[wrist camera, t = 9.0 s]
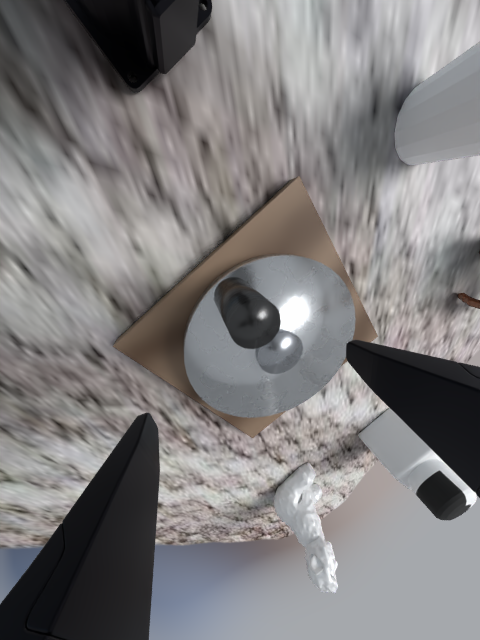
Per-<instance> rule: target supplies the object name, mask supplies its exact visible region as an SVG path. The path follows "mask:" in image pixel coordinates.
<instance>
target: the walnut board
mask: <svg viewBox="0 0 480 640" xmlns="http://www.w3.org/2000/svg"><path fill="white" fill-rule="evenodd" d="M269 254H291V255H296V256H301V257H305V258H309V259H312V260H315V261H318V262H320V263H322V264H324V265H326V266H327V267H329V268H331V269H332V270H333V271H334V272H335V273H336V274H338V275H339V276H340V278H341V279H342V280H343V281H344V283H345V284H346V286H347V288H348V289H349V291H350V294H351V296H352V299H353V303H354V308H355V331H354V336H353V340H361V341H365V342H371V341H373V340H374V339H375V338H376V337H378V335H377V333H376V331H375V329H374V327H373V325H372V323H371V321H370V319H369V317H368V315H367V313H366V311H365V309H364V307H363V305H362V303H361V301H360V299H359V297H358V295H357V293H356V291H355V289H354V287H353V284H352V282H351V280H350V278H349V276H348V274H347V272H346V270H345V268H344V266H343V264H342V262H341V260H340V258H339V256H338V254H337V252H336V250H335V248H334V246H333V244H332V242H331V240H330V238H329V236H328V234H327V231H326V229H325V227H324V225H323V223H322V221H321V219H320V217H319V215H318V213H317V211H316V209H315V207H314V205H313V203H312V201H311V199H310V197H309V195H308V193H307V191H306V189H305V187H304V185H303V183H302V181H301V178H300V176H299V177H296V178H294V179H292V180H291V181H289V182H288V183H287V184H286V185H285V186H284V187H283V188H282V189H281V190H280V191H279V192H277V193H276V194H275V195H274V196H273V197H272V198H271V199H270V200H269V201H268V202H267V203H265V204H264V205H263V206H262V207H261V208H260V209H259V210H258V211H257V212H256V213H254V214H253V215H252V216H251V217H250V218H249V219H248V220H247V221H246V222H245V223H244V224H242V225H241V226H240V227H239V228H238V229H237V230H236V231H235V232H234V233H233V234H232V235H230V236H229V237H228V238H227V239H226V240H225V241H224V242H223V243H222V244H221V245H220V246H218V247H217V248H216V249H215V250H214V251H213V252H212V253H211V254H210V255H209V256H207V257H206V258H205V259H204V260H203V261H202V262H201V263H200V264H199V265H198V266H197V267H195V268H194V269H193V270H192V271H191V272H190V273H189V274H188V275H187V276H186V277H185V278H183V279H182V280H181V281H180V282H179V283H178V284H177V285H176V286H175V287H174V288H172V289H171V290H170V291H169V292H168V293H167V294H166V295H165V296H164V297H163V298H162V299H160V300H159V301H158V302H157V303H156V304H155V305H154V306H153V307H152V308H151V309H150V310H148V311H147V312H146V313H145V314H144V315H143V316H142V317H141V318H140V319H139V320H138V321H136V322H135V323H134V324H133V325H132V326H131V327H130V328H129V329H128V330H127V331H125V332H124V333H123V334H122V335H121V336H120V337H119V338H118V339H117V340H116V342H115V344H114V345H113V347H115V348H116V349H118V350H119V351H121V352H122V353H124V354H125V355H127V356H128V357H130V358H131V359H133V360H134V361H136V362H137V363H139V364H140V365H142V366H143V367H145V368H146V369H148V370H150V371H151V372H153V373H154V374H156V375H157V376H159V377H160V378H162V379H163V380H165V381H166V382H168V383H169V384H171V385H172V386H174V387H175V388H177V389H178V390H180V391H181V392H183V393H185V394H186V395H188V396H189V397H191V398H192V399H194V400H195V401H197V402H198V403H200V404H201V405H203V406H204V407H206V408H207V409H209V410H210V411H212V412H213V413H215V414H216V415H218V416H220V417H221V418H223V419H224V420H226V421H227V422H229V423H230V424H232V425H233V426H235V427H236V428H238V429H239V430H241V431H242V432H244V433H245V434H247V435H248V436H250V437H251V438H253V437H255V436H256V435H257V434H258V433H260V432H261V431H262V430H263V429H264V428H266V427H267V426H268V425H269V424H271V423H272V422H273V421H274V420H276V419H277V418H278V417H279V416H280V415H282V414H283V413H284V412H285V411H284V412H281V413H278V414H274V415H270V416H265V417H255V418H248V417H238V416H232V415H229V414H225V413H223V412H221V411H218V410H216V409H215V408H213V407H211V406H210V405H208V404H207V403H206V402H205V401H204V400H202V399H201V398H200V396H199V395H198V394H197V393H196V392H195V390H194V388H193V387H192V385H191V383H190V381H189V378H188V376H187V373H186V368H185V363H184V335H185V329H186V325H187V322H188V319H189V316H190V314H191V312H192V309H193V307H194V306H195V304H196V302H197V301H198V299H199V297H200V296H201V295H202V294H203V292H204V291H205V290H206V289H207V287H208V286H209V285H210V284H211V283H213V282H214V281H215V280H216V279H217V278H218V277H219V276H220V275H222V274H223V273H224V272H226V271H227V270H229V269H230V268H232V267H234V266H236V265H238V264H239V263H241V262H244V261H246V260H249V259H251V258H255V257H259V256H263V255H269ZM346 362H347V359H346V358H345V360H344V361H343V363H342V365H343V364H344V363H346ZM342 365H341V366H342Z"/></svg>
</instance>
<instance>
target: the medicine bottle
mask: <svg viewBox="0 0 480 640" xmlns="http://www.w3.org/2000/svg"><path fill="white" fill-rule="evenodd" d="M358 436H359V438H360V439H361V440H362V441H363V442H364V443H365V445H366V446H367V447H368V448H369V449H370V450H371V452H372V453H373V454H374V455H375V456H376V457H377V459H378V460H379V461H380V462H381V463H382V464H383V466H384V467H385V468H386V469H387V470H388V471H389V472H390V474H391V475H392V476H393V477H394V478H395V479H396V480H398V481H399V482H400V483H402V484H403V485H404V486H405V487H407V488H408V489H412V491H413V492H414V493H415V494H416V495H417V496H418V497H419V498H420V500H421V501H422V502H423V503H424V504H425V505H426V506H427V508H428V509H429V510H430V511H431V512H432V513H433V514H434V515H435V517H436V518H439V519H440V520H452V519H454V518H456V517H458V516H460V515H462V514H463V513H464V512H466V511H467V510H468V509H469V508H470V507H471V506H472V505H473V504H474V503H475V501H476V497H477V495H476V493H475V492H474V491H473V490H472V489H471V488H470V487H469V486H468V485H467V484H466V483H465V482H464V481H463V480H462V479H461V478H460V477H459V476H458V475H457V474H456V473H455V472H454V471H453V470H452V469H451V468H450V467H449V466H448V465H447V464H446V463H445V462H444V461H443V460H442V459H441V458H440V457H439V456H438V455H437V454H436V453H435V452H434V451H433V450H432V449H431V448H430V447H429V446H428V445H427V444H426V443H425V442H424V441H423V440H422V439H421V438H420V437H418V436H417V435H416V434H415V433H414V432H413V431H412V430H411V429H410V428H409V427H408V426H407V425H406V424H405V423H404V422H403V421H402V420H401V419H400V418H399V417H398V416H397V415H396V414H395V413H394V412H393V411H392V410H391V409H390V408H389V409H388V410H386V411H385V412H384V413H383V414H382V415H380V416H379V417H378V418H377V419H376V420H374V421H373V422H372V423H371V424H370V425H369V426H367V427H366V428H365V429H364V430H363V431H361V432H360V433H359V434H358Z"/></svg>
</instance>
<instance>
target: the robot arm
mask: <svg viewBox="0 0 480 640" xmlns="http://www.w3.org/2000/svg"><path fill="white" fill-rule="evenodd" d="M64 1H65V3H66V4H67V5H68V7H69V8H70V10H71V11H72V12H73V14H74V15H75V16H76V18H77V19H78V20H79V22H80V23H81V24H82V26H83V27H84V29H85V30H86V31H87V33H88V34H89V35H90V37H91V38H92V39H93V41H94V42H95V43H96V45H97V46H98V48H99V49H100V50H101V52H102V53H103V54H104V56H105V57H106V58H107V60H108V61H109V62H110V64H111V65H112V67H113V68H114V69H115V71H116V72H117V73H118V75H119V76H120V77H121V79H122V80H123V82H124V83H125V84H126V86H127V87H128V88H129V89H130V90H131V91H133V92H140V91H141V90H142V89H143V88H144V87H145V86H146V85H147V84H148V83H149V82H150V81H151V80H152V79H153V78H154V77H155V76H156V75H157V74H158V73H159V72H160V73H162V74H166V73H167V72H168V71H169V70H170V69H171V68H172V67H173V66H174V65H175V64H176V63H177V62H178V61H179V60H180V59H181V58H182V57H183V56H184V55H185V54H186V53H187V52H188V51H189V50H190V49H191V48H192V47H193V46H194V44H195V41H196V34H197V33H198V32H199V31H200V30H201V29H202V28H203V27H204V26H205V25H206V24H207V23H208V21H209V20H210V17H211V11H212V2H211V0H64ZM201 3H202V4H204V5H205V7H206V9H207V10H205V11H203V10H201V8H200V7H199V4H201ZM131 75H134V76H136V77H137V82H136V83H132V82H131V81H130V80H129V77H130V76H131ZM346 359H347V361H348V362H349V363H350V365H351V366H352V367H353V368H354V369H355V371H356V372H357V373H358V374H359V375H360V377H361V378H362V379H363V380H364V382H365V383H366V384H367V385H368V386H369V387H370V388H371V389H372V390H373V392H374V393H375V394H376V395H377V396H378V397H379V398H380V399H381V400H382V401H383V402H384V403H385V404H386V405H387V406H388V407H389V408H390V409H391V410H392V411H393V412H394V413H395V414H396V415H397V416H398V417H399V418H400V419H401V420H402V421H403V422H404V423H405V424H406V425H407V426H408V427H409V428H410V429H411V430H412V431H413V432H414V433H415V434H416V435H417V436H418V437H420V438H421V439H422V440H423V441H424V442H425V443H426V444H427V445H428V446H429V447H430V448H431V449H432V450H433V451H434V452H435V453H436V454H437V455H438V456H439V457H440V458H441V459H442V460H443V461H444V462H445V463H446V464H447V465H448V466H449V467H450V468H451V469H452V470H453V471H454V472H455V473H456V474H457V475H458V476H459V477H460V478H461V479H462V480H463V481H464V482H465V483H466V484H467V485H468V486H469V487H470V488H471V489H472V490H473V491H474V492H475V493H476V495H477V496H478V497H479V498H480V367H477V366H473V365H468V364H464V363H457V362H455V361H450V360H446V359H441V358H437V357H432V356H428V355H423V354H419V353H414V352H410V351H406V350H401V349H397V348H392V347H388V346H383V345H379V344H374V343H370V342H365V341H361V340H352V341H349V342H347V344H346ZM159 475H160V463H159V438H158V428H157V425H156V423H155V422H154V420H153V418H152V416H151V415H150V414H149V413H145V414H142V415H139V416H138V417H137V418H136V419H135V420H134V422H133V423H132V425H131V426H130V427H129V429H128V430H127V432H126V433H125V434H124V436H123V437H122V439H121V440H120V441H119V443H118V444H117V446H116V447H115V448H114V450H113V451H112V453H111V454H110V455H109V457H108V458H107V460H106V461H105V462H104V464H103V465H102V467H101V468H100V469H99V471H98V472H97V474H96V475H95V476H94V478H93V479H92V480H91V482H90V483H89V485H88V486H87V487H86V489H85V490H84V492H83V493H82V494H81V496H80V497H79V499H78V500H77V501H76V503H75V504H74V506H73V507H72V508H71V510H70V511H69V513H68V514H67V515H66V517H65V518H64V520H63V523H62V524H60V525H59V527H58V528H57V529H56V531H55V532H54V534H53V535H52V536H51V538H50V539H49V541H48V542H47V543H46V545H45V546H44V547H43V549H42V550H41V551H40V553H39V554H38V555H37V557H36V558H35V560H34V561H33V562H32V564H31V565H30V566H29V568H28V569H27V570H26V572H25V573H24V574H23V575H22V577H21V578H20V579H19V581H18V582H17V583H16V585H15V586H14V587H13V588H12V590H11V591H10V592H9V594H8V595H7V596H6V598H5V599H4V600H3V601H2V603H1V604H0V640H149V626H150V611H151V596H152V581H153V566H154V550H155V536H156V521H157V506H158V491H159Z"/></svg>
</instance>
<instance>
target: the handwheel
mask: <svg viewBox="0 0 480 640" xmlns="http://www.w3.org/2000/svg"><path fill="white" fill-rule="evenodd" d="M354 331H355V308H354V303H353V299H352V296H351V294H350V291H349V289H348V288H347V286H346V284H345V283H344V281H343V280H342V279H341V278H340V276H339V275H338V274H336V273H335V272H334V271H333V270H332V269H331V268H329V267H327V266H326V265H324V264H322V263H320V262H318V261H315V260H312V259H309V258H305V257H301V256H296V255H291V254H269V255H263V256H259V257H255V258H251V259H249V260H246V261H244V262H241V263H239V264H238V265H236V266H234V267H232V268H230V269H229V270H227V271H226V272H224V273H223V274H222V275H220V276H219V277H218V278H217V279H216V280H215V281H214V282H213V283H211V284H210V285H209V286H208V287H207V289H206V290H205V291H204V292H203V294H202V295H201V296H200V297H199V299H198V301H197V302H196V304H195V306H194V307H193V309H192V312H191V314H190V316H189V319H188V322H187V325H186V329H185V335H184V363H185V368H186V373H187V376H188V378H189V381H190V383H191V385H192V387H193V388H194V390H195V392H196V393H197V394H198V395H199V396H200V398H201V399H202V400H204V401H205V402H206V403H207V404H208V405H210V406H211V407H213V408H215V409H216V410H218V411H221V412H223V413H225V414H229V415H232V416H238V417H248V418H255V417H265V416H270V415H274V414H278V413H281V412H284V411H287V410H289V409H291V408H294V407H296V406H298V405H300V404H301V403H303V402H305V401H306V400H308V399H309V398H311V397H312V396H313V395H315V394H316V393H317V392H318V391H320V390H321V389H322V388H323V387H324V386H325V385H326V384H327V383H328V382H329V381H330V380H331V379H332V377H333V376H334V375H335V374H336V372H337V371H338V369H339V368H340V367H341V365H342V363H343V361H344V360H345V358H346V344H347V342H349V341H352V340H353V336H354Z"/></svg>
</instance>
